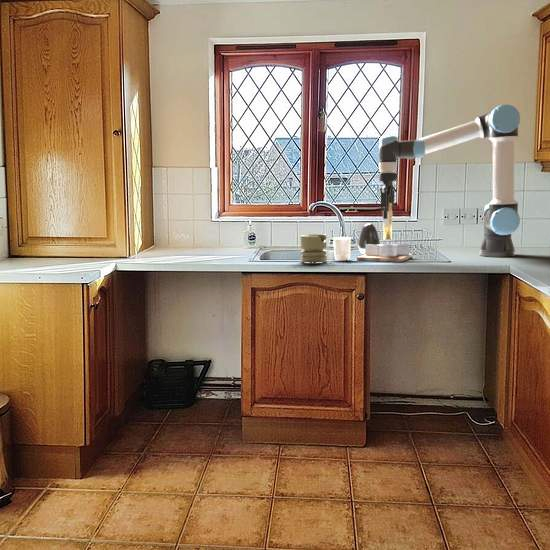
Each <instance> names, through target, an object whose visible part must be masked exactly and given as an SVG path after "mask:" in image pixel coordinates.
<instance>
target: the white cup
mask: <svg viewBox="0 0 550 550" xmlns="http://www.w3.org/2000/svg"><path fill="white" fill-rule="evenodd" d="M332 240H333V253H334V260H335V261H337V262H339V261H340V262H346V260H347V261H350V259H351V249H352V246H351V245H352V238H351V237H349V236H339V237H336V236H335V237H333V238H332Z"/></svg>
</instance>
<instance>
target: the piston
mask: <svg viewBox="0 0 550 550" xmlns="http://www.w3.org/2000/svg"><path fill="white" fill-rule="evenodd" d="M327 246H328V245H327V234H323V233H321V234H320V233H319V234H318V233H314V234H313V233H309V234H308V235H301V234H300V249H301V251H300V255H301V256H300V263H301V262H310V263H312V262H313V263H316V262H326V263H327V261H328V258H327V253H328V252H327V250H325V249H327Z"/></svg>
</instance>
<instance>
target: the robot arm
mask: <svg viewBox="0 0 550 550" xmlns="http://www.w3.org/2000/svg"><path fill="white" fill-rule="evenodd" d="M520 122H521V114H520V112H519V110H518V109H517V108H516V107H515V106H513V105H511V104H507V103H506V104H505V103H504V104H499V105H497V106H495V107H494V108H493V109H492V110H490V111H488V112H487V113H485V114H483V115H481V116H477V117H476V118H475V120H472V121H469V122H466V123H463V124H459V125H457V126H454V127H451V128H449V129H445V130H443V131H439V132H436V133H432V134H430V135H425V136H424V137H421V138H417V139H412V140H411V139H410V140H398V138H397V135H396V136H395V135H394V136H393V135H386V136H385V135H384V136H380V138H379V145H378V161H379V162H378V163H379V164H378V165H377V168H379V169H378V171H379V172H380V173H379V174H378V181H379V182H382V186H380V188H379V190H380V211H381V212H382V227H383V226H389V211H388V210H389V203H392V212H394V211H395V191H396V187H395V186H394V183H393V182H397V165H398V164H397V163H398V162H397V161H398V160H397V159H407V160H414V159H421V158H424V157H425V155H427V154H432V153H434V152H436V151H440V150H443V149H447V148H450V147H453V146H456V145H460V144H463V143H465V142H468V141H473V140H475V139H478V138H480V139H485V138H488V140H489V141H490V142H491V143H492V200H491V201H490V202H489V203H488V204H486V205H485V206H484V210H483V213H484V217H483V218H484V221H483V223H484V224H483V226H484V227H483V241H482V243H481V246H480V249H479V256H484V257H488V258H489V257H493V258H496V257H497V258H502V257H503V258H507V257H508V258H509V257H515V256H516V250H515V246H514V243H513V240H512V234H513V233H514V232H516V230H518V228H519V226H520V222H521V219H520V215H519V213H518V212H519V202H518V201H517V200H516V199H515V141H516V140H517V139H518V138H519V125H520Z"/></svg>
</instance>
